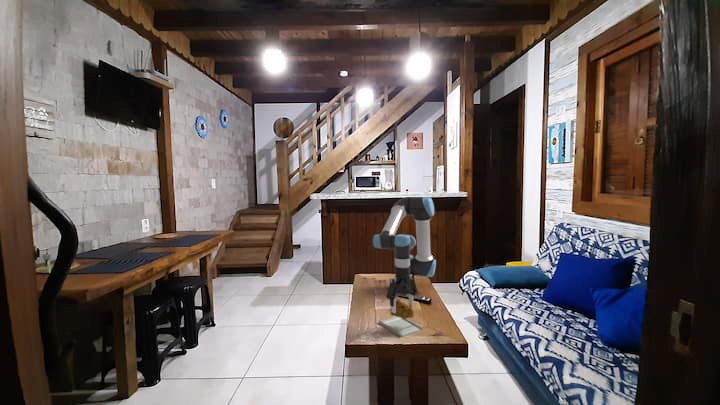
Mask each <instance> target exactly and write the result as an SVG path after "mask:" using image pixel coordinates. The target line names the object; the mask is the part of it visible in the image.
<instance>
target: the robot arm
mask: <svg viewBox="0 0 720 405" xmlns="http://www.w3.org/2000/svg"><path fill="white" fill-rule="evenodd" d="M434 215H435V205H434V201H433V199H432V197H428V196H427V197H426V196H406V197H403V198H401V199H399V200H398V201H397V202H395V203H394V204H393V205H392V207H391V209H390V215H389V217H388V219H387V221H386V222H385V224H384V226H383V229H382V230H381V232H380V233H378V234H374V235H373V238H372V244H373V247H374V248H375V249H380V250H394V275H395V276H394V277H391V278H389V284H388V285H389V287H388V289H387V294H386V299H388V300H389V306H390V308H391V312H393V313H396V300H397V299H395V298H396V296H397V294H398V293H400V294H401V293H402V294H403V293H404V294H408V306H409V307H411V308H413V309H414V301H415V296H416V295H417V294H418V288H417V284H416V280H415V276H416V277H423V278H424V277H425V278H433V277H434V275H435V271H436V266H437V260H436V259H435V258H434V256H433V255H432V252H431V251H432V250H431V248H432V247H431V228H430V226H431V225H430V221H431V219H432V217H434ZM406 216H412V218H413V220H414V221H415V232H416V234H415V235H416V238H415V236H413V235H411V234H401V233H400V234H397V232H398V228H399V227H400V224H401V222H402V221H403V219H404V218H405V217H406ZM415 247H416V251H417V254H416V255H415V257H414V255H412V254H411V250H413V249H414V248H415ZM391 312H390V313H391Z"/></svg>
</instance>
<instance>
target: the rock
mask: <svg viewBox="0 0 720 405" xmlns="http://www.w3.org/2000/svg"><path fill="white" fill-rule="evenodd" d="M395 300H396V313H393V312H391V307H390V308H389V310H390V315H391V316H394V317H396V316H397V317H399V316H400V317H401V318H403V319H408V318H409V319H411V318H414V316H415V311H414V307H413V308H411V307H409V304H406V303H405V302H403V301H401V300H400V299H395Z"/></svg>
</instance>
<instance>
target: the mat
mask: <svg viewBox="0 0 720 405" xmlns="http://www.w3.org/2000/svg"><path fill="white" fill-rule="evenodd" d="M378 324H380V325H381V326H383V327H385V329H387V330H388V331H390V332H392V333H394V334H395V335H396V336H397V337H399V338H402V337H406V336H409V335H411V334H415V333H418V332H420V331H423V327H422V326H420V325H419V324H417V323H415V322H413V321H412V320H410V319H408V318H406V319H403V318H401V317H400V316H399V317H397V316H393V317H390V318H386V319H383V320H380V319H379V320H378Z"/></svg>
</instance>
